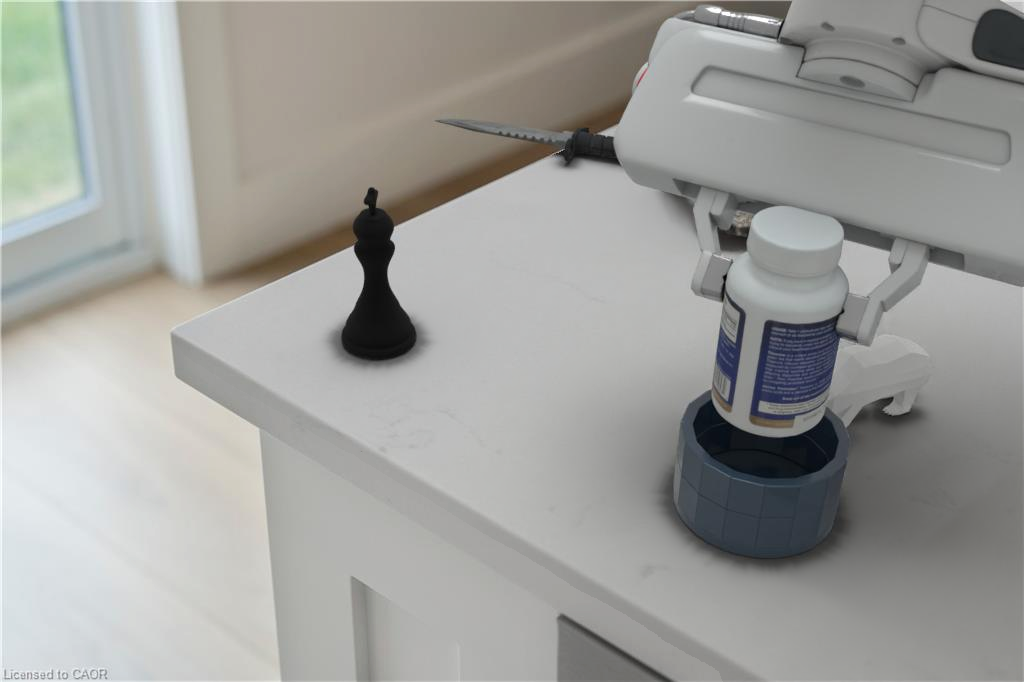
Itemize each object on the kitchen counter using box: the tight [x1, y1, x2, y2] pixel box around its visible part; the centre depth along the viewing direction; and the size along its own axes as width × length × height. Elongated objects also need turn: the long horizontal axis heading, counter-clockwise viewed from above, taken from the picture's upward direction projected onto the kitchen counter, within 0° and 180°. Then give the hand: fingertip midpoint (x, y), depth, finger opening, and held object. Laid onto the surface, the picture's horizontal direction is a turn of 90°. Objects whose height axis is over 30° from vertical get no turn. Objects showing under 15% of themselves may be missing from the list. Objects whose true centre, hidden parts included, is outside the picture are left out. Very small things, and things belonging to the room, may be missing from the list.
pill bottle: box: [711, 206, 850, 437], centre depth 56 cm, size 5×5×10 cm
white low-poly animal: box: [826, 333, 932, 428], centre depth 67 cm, size 2×8×5 cm, turn 119°
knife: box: [434, 118, 618, 163], centre depth 95 cm, size 19×2×5 cm
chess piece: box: [340, 186, 417, 360], centre depth 71 cm, size 4×4×10 cm
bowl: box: [672, 388, 852, 559], centre depth 61 cm, size 8×8×4 cm
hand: (779, 318), depth 56 cm, fingers closed on pill bottle, 5 cm apart
